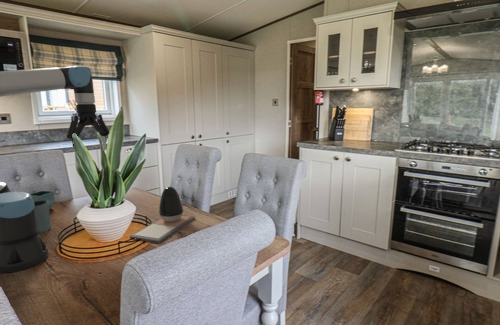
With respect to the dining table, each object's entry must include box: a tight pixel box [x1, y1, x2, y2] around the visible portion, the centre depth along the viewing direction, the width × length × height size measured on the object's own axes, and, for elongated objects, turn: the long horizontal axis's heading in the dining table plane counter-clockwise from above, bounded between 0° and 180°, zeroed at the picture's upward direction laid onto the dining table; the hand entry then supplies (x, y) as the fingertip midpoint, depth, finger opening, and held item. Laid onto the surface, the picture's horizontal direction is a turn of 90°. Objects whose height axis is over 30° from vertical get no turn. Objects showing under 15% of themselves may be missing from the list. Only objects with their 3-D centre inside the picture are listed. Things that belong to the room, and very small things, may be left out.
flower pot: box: [29, 190, 55, 210], centre depth 157 cm, size 9×9×9 cm
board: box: [129, 214, 196, 244], centre depth 130 cm, size 26×14×1 cm, turn 159°
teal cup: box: [34, 200, 52, 234], centre depth 131 cm, size 10×10×12 cm
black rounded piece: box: [158, 186, 184, 222], centre depth 134 cm, size 10×10×15 cm
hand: (91, 152), depth 136 cm, fingers open, 13 cm apart
